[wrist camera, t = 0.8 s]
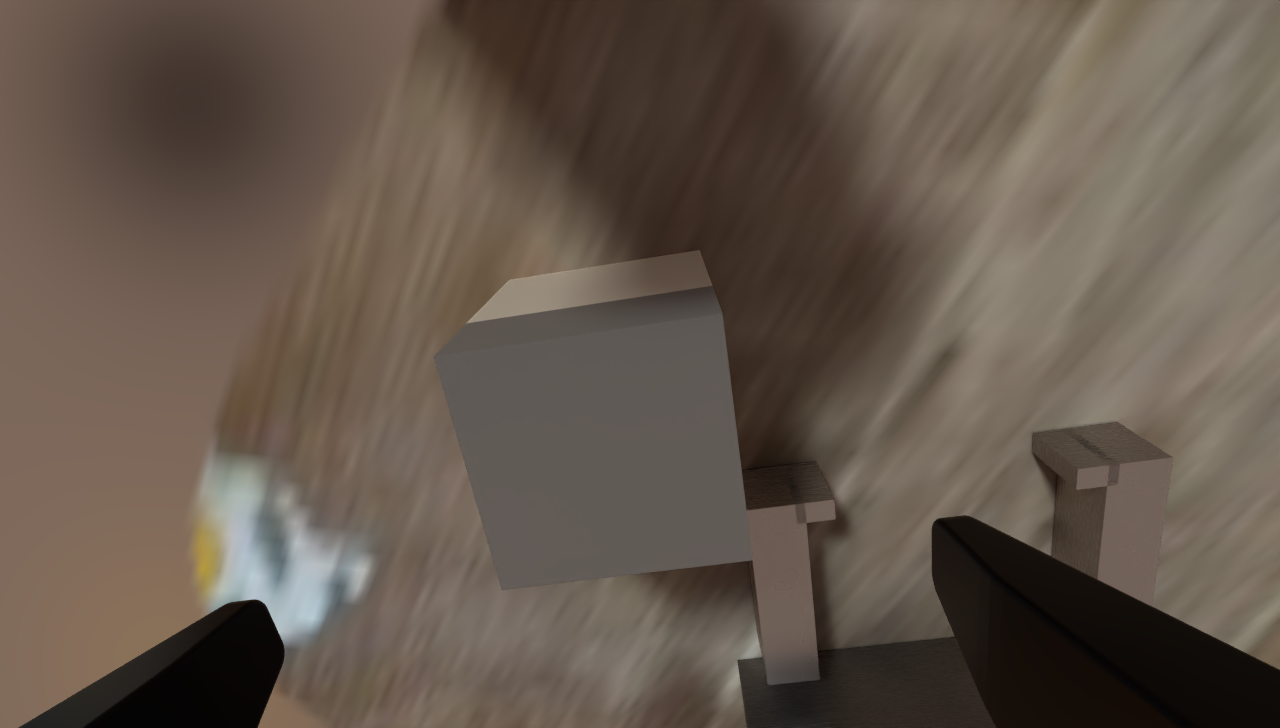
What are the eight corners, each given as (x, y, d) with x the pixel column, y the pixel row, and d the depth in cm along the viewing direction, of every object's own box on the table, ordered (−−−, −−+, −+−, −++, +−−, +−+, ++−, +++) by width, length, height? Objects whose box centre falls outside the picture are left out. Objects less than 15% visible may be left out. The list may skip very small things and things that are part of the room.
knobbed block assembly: (711, 474, 18) (729, 586, 14) (1146, 418, 17) (1317, 519, 13) (749, 748, 22) (773, 906, 18) (1109, 713, 21) (1232, 872, 17)
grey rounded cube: (699, 249, 16) (722, 313, 11) (722, 424, 18) (752, 560, 12) (509, 279, 17) (433, 356, 11) (549, 447, 18) (501, 589, 13)
